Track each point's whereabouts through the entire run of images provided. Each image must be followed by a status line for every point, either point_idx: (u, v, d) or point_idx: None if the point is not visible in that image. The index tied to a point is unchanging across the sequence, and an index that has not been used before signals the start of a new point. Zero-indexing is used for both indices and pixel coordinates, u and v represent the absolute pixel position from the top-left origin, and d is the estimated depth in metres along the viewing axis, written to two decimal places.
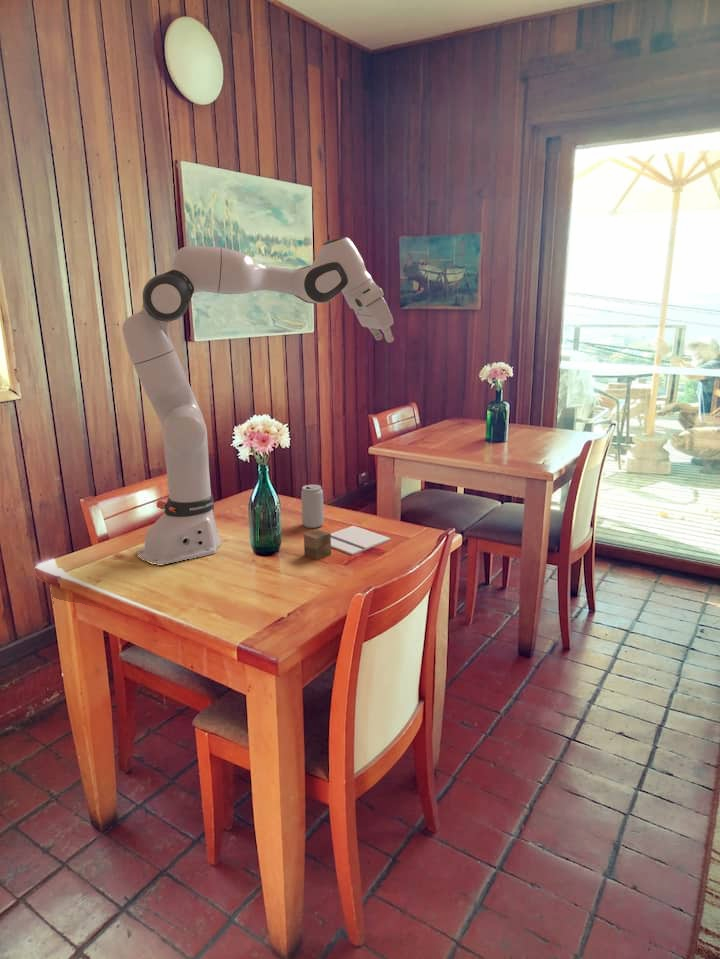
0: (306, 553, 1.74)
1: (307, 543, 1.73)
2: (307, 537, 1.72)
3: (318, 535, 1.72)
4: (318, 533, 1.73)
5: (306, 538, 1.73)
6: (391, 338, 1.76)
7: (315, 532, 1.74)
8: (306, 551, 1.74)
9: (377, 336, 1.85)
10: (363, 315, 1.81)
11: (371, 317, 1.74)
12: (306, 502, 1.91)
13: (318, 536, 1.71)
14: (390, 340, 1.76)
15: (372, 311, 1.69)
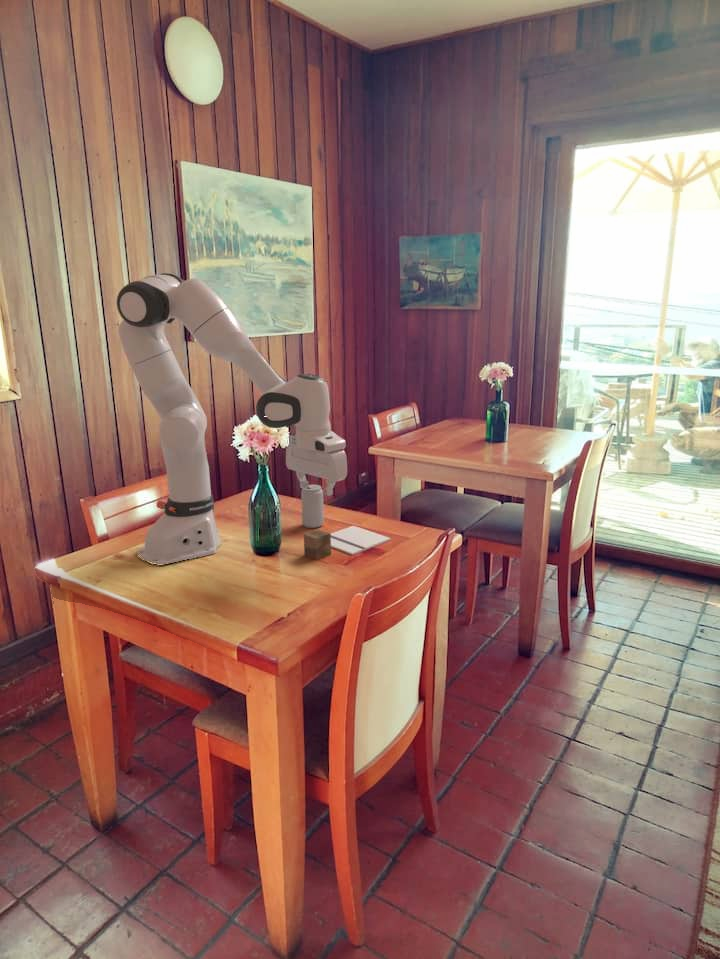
0: (306, 553, 1.74)
1: (307, 543, 1.73)
2: (307, 537, 1.72)
3: (318, 535, 1.72)
4: (318, 533, 1.73)
5: (306, 538, 1.73)
6: (331, 492, 1.66)
7: (314, 532, 1.74)
8: (306, 551, 1.74)
9: (304, 484, 1.72)
10: (303, 458, 1.68)
11: (322, 464, 1.63)
12: (306, 501, 1.91)
13: (318, 536, 1.71)
14: (329, 493, 1.66)
15: (333, 460, 1.59)
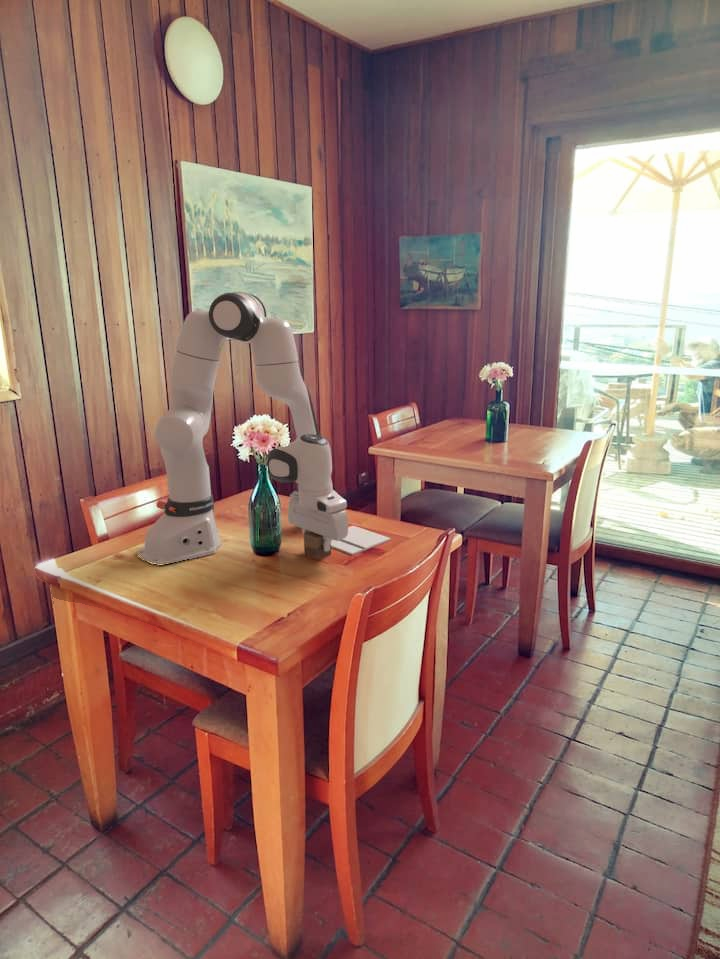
0: (306, 553, 1.74)
1: (307, 542, 1.73)
2: (307, 537, 1.72)
3: (318, 535, 1.72)
4: None
5: (306, 538, 1.73)
6: (328, 547, 1.71)
7: None
8: (306, 550, 1.74)
9: None
10: (305, 516, 1.72)
11: (323, 523, 1.67)
12: None
13: (318, 536, 1.71)
14: (326, 549, 1.71)
15: (335, 520, 1.63)
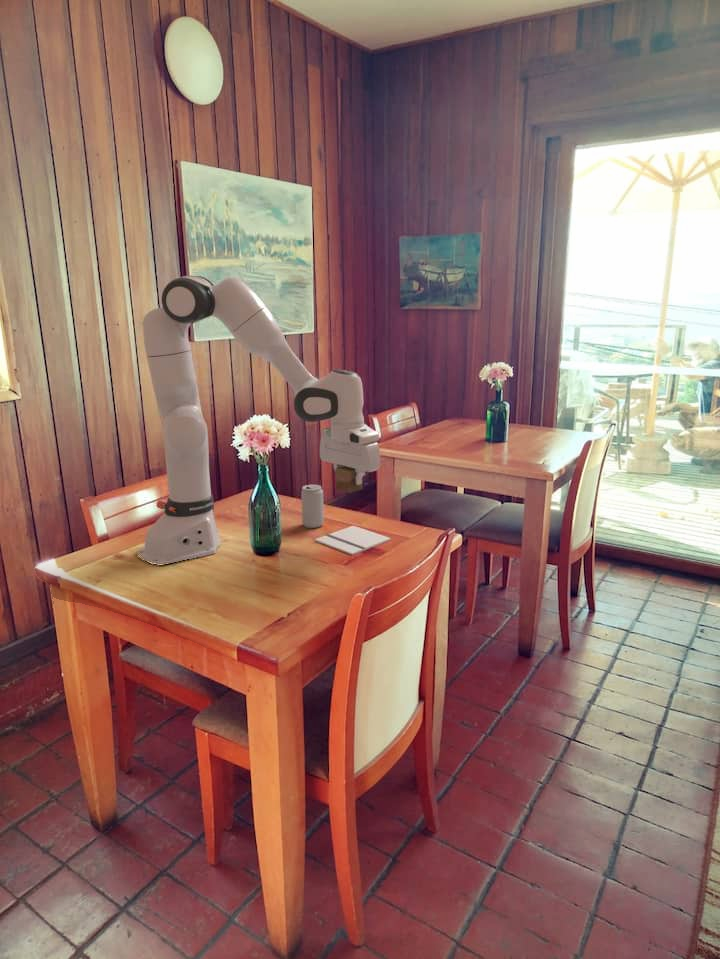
0: (338, 487, 1.77)
1: (340, 477, 1.76)
2: (339, 471, 1.76)
3: (350, 469, 1.75)
4: None
5: (338, 472, 1.76)
6: (360, 481, 1.75)
7: None
8: (338, 485, 1.77)
9: None
10: (337, 450, 1.76)
11: (356, 456, 1.71)
12: (306, 501, 1.92)
13: (350, 469, 1.74)
14: (359, 482, 1.74)
15: (367, 451, 1.67)
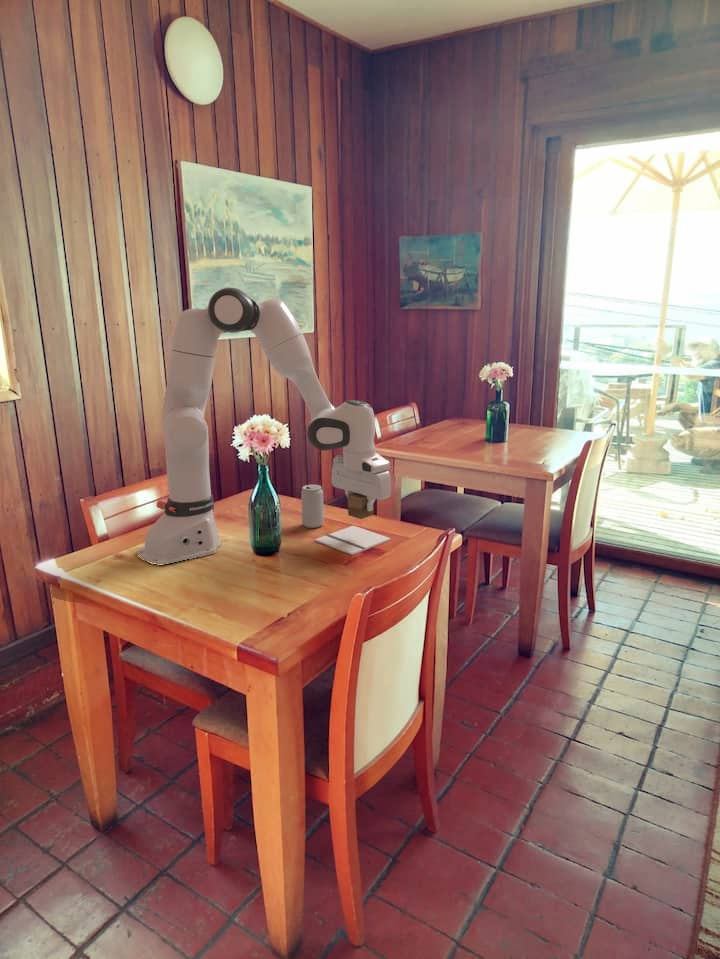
0: (350, 513, 1.83)
1: (351, 503, 1.82)
2: (351, 498, 1.81)
3: (361, 495, 1.81)
4: None
5: (350, 498, 1.82)
6: (371, 507, 1.80)
7: None
8: (350, 511, 1.83)
9: None
10: (349, 477, 1.81)
11: (367, 484, 1.76)
12: (306, 501, 1.92)
13: (362, 496, 1.80)
14: (370, 509, 1.80)
15: (379, 480, 1.72)
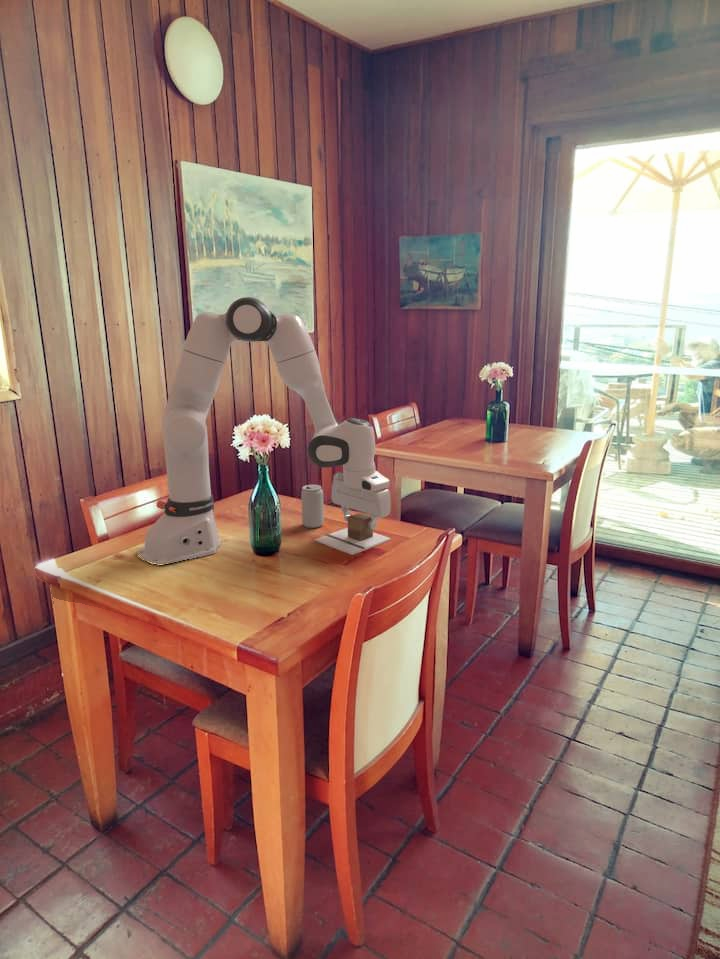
0: (349, 535, 1.85)
1: (351, 525, 1.83)
2: (350, 520, 1.83)
3: (361, 518, 1.82)
4: (361, 516, 1.84)
5: (350, 521, 1.83)
6: (374, 526, 1.81)
7: (357, 515, 1.85)
8: (349, 532, 1.84)
9: None
10: (349, 495, 1.82)
11: (367, 501, 1.78)
12: (306, 501, 1.91)
13: (361, 519, 1.82)
14: (373, 527, 1.80)
15: (379, 498, 1.74)
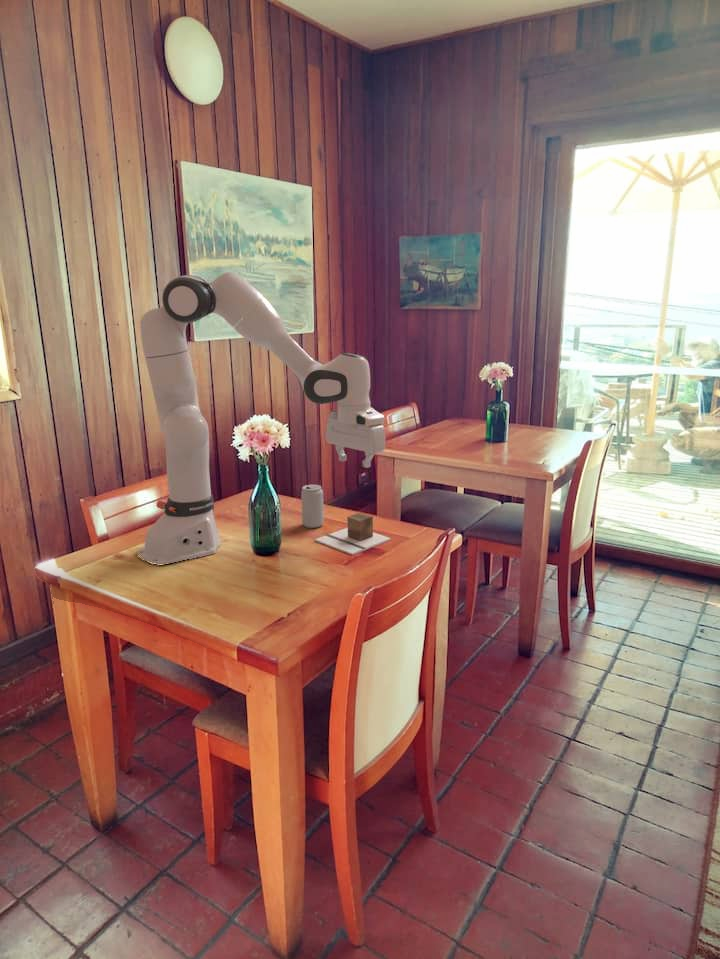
0: (349, 535, 1.85)
1: (351, 525, 1.83)
2: (350, 520, 1.83)
3: (361, 518, 1.82)
4: (361, 516, 1.84)
5: (350, 521, 1.83)
6: (369, 464, 1.77)
7: (357, 515, 1.85)
8: (349, 532, 1.84)
9: (343, 457, 1.83)
10: (343, 432, 1.79)
11: (361, 438, 1.74)
12: (306, 501, 1.92)
13: (361, 519, 1.82)
14: (367, 465, 1.77)
15: (373, 433, 1.70)
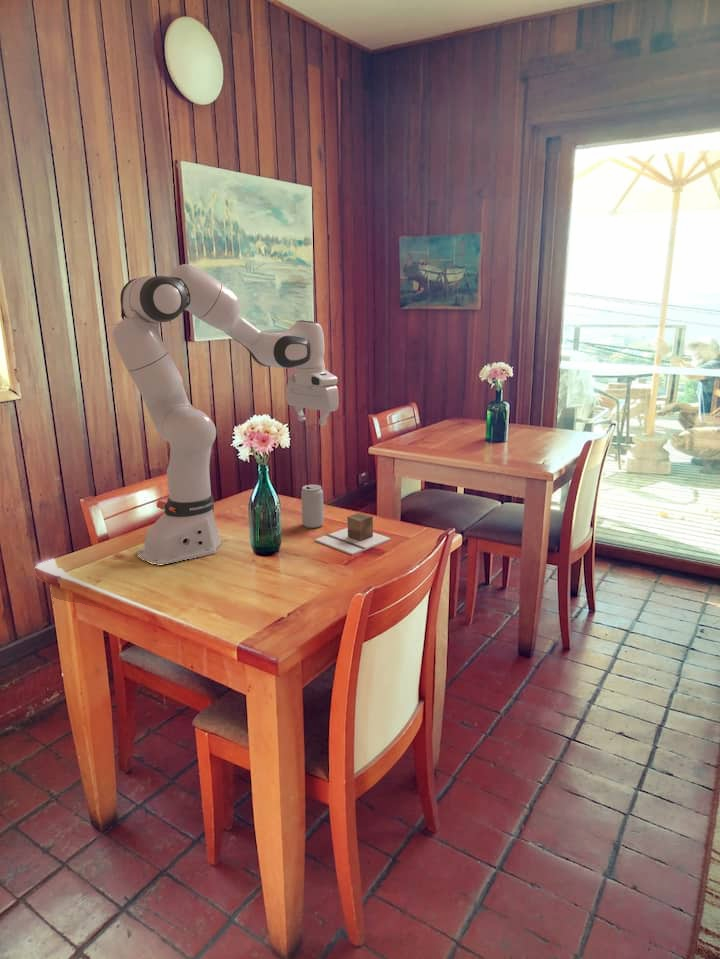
0: (349, 535, 1.85)
1: (351, 525, 1.83)
2: (350, 520, 1.83)
3: (361, 518, 1.82)
4: (361, 516, 1.84)
5: (350, 521, 1.83)
6: (325, 422, 1.94)
7: (357, 515, 1.85)
8: (349, 532, 1.84)
9: (302, 417, 2.00)
10: (301, 394, 1.96)
11: (317, 397, 1.91)
12: (306, 502, 1.91)
13: (361, 519, 1.82)
14: (323, 423, 1.94)
15: (327, 392, 1.87)
